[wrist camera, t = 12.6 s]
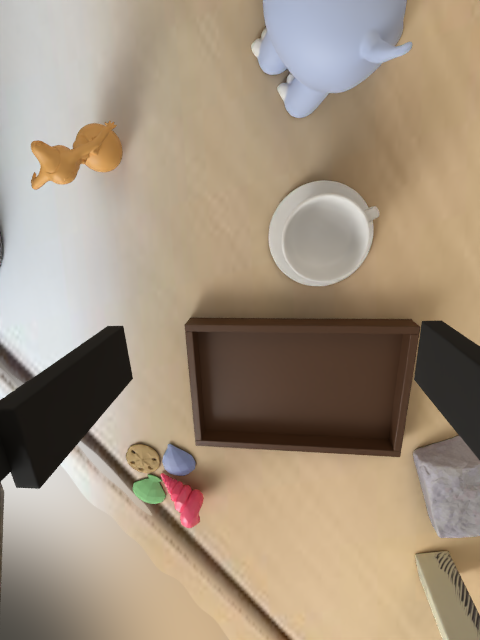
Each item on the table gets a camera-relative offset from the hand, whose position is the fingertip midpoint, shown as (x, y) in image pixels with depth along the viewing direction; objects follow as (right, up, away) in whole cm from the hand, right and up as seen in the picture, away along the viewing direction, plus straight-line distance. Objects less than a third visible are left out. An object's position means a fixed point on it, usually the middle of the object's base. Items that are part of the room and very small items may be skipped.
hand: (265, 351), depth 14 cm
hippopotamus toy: (+5, +26, +12) cm, 29 cm away
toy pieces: (-11, -20, +30) cm, 38 cm away
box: (+25, -31, +29) cm, 50 cm away
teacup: (+7, +10, +18) cm, 21 cm away
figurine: (-13, +17, +18) cm, 28 cm away
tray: (+5, -6, +23) cm, 24 cm away
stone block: (+25, -17, +24) cm, 39 cm away
